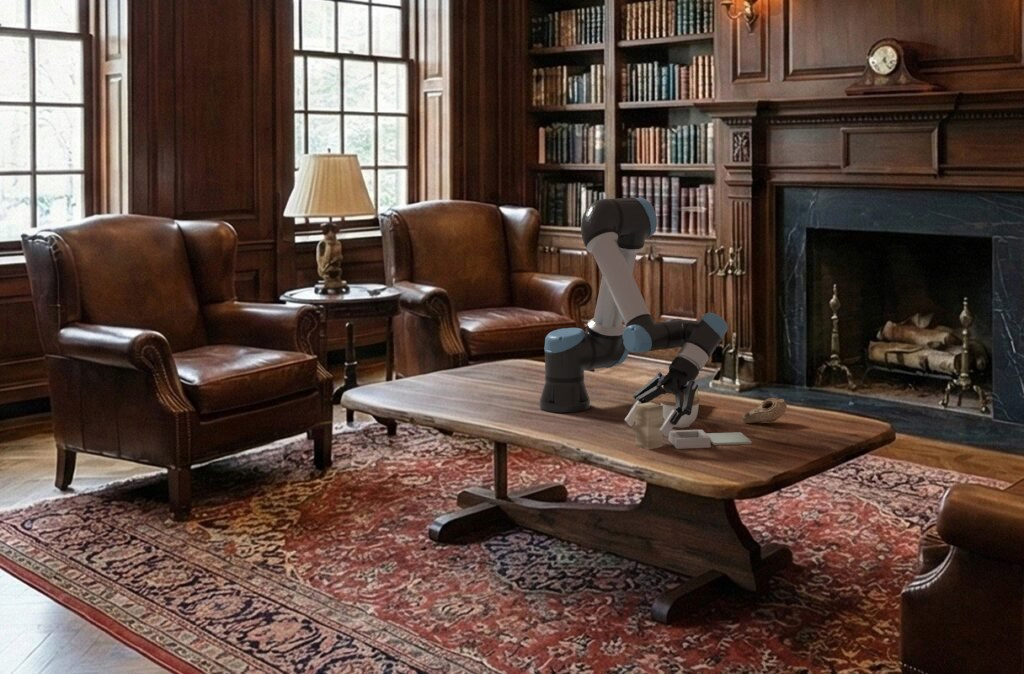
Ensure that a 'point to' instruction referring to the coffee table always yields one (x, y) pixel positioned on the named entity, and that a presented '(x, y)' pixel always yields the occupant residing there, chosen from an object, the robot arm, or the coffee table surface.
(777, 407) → the pottery oil lamp
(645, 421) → the maple block
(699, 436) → the stone well
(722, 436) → the felt pad
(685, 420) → the lidded jar
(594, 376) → the coffee table surface
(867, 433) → the coffee table surface
